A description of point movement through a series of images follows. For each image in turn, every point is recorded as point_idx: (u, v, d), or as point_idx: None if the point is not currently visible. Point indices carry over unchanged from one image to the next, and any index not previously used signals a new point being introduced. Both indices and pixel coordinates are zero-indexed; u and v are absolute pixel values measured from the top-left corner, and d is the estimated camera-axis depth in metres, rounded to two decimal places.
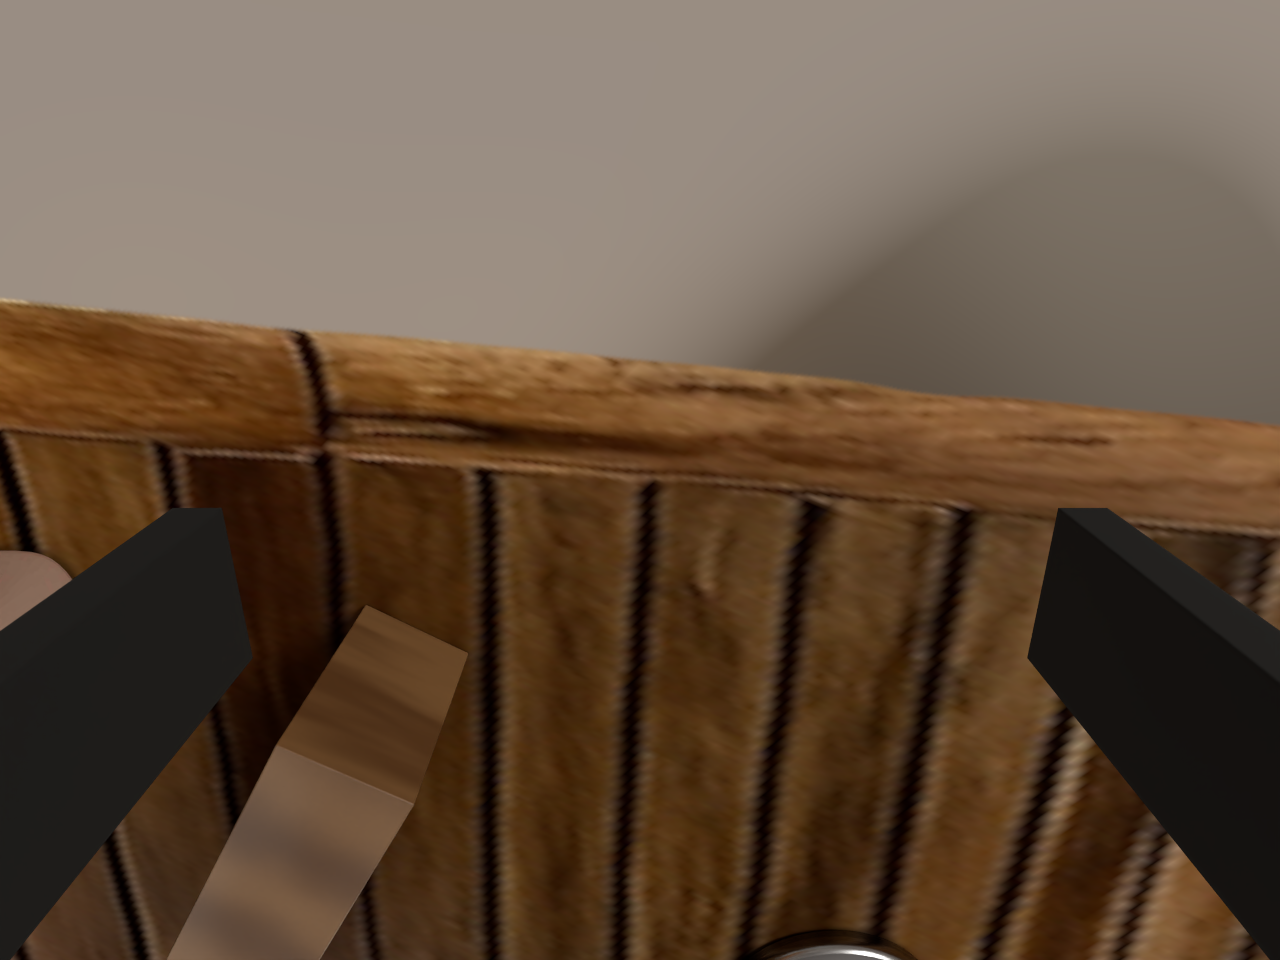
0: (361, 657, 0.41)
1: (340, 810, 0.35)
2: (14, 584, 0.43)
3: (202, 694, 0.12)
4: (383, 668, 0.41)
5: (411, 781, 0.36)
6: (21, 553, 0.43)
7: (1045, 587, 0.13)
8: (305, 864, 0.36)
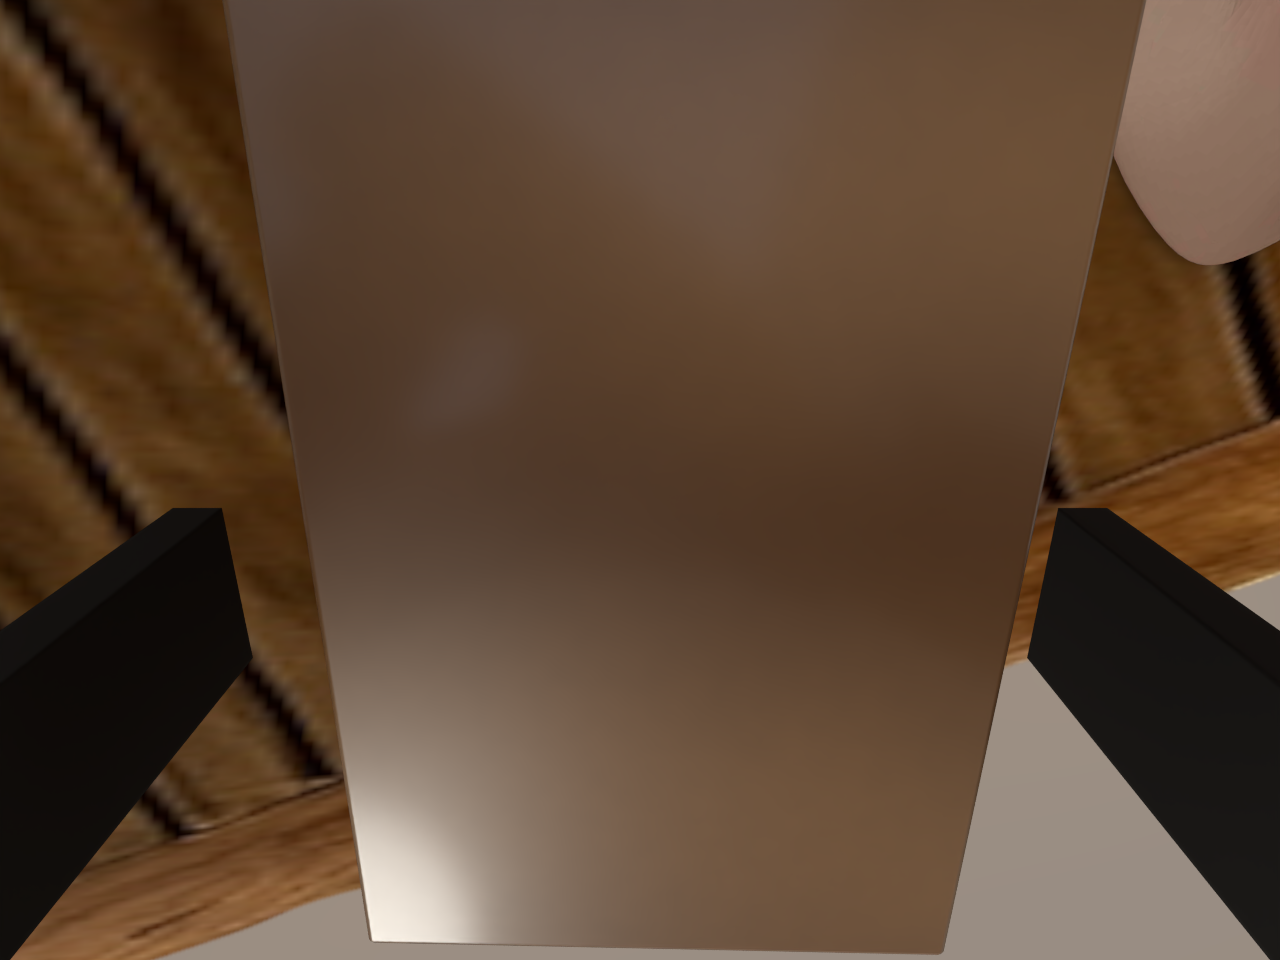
0: None
1: (607, 817, 0.08)
2: (1258, 217, 0.26)
3: (201, 694, 0.12)
4: None
5: None
6: (1246, 255, 0.28)
7: (1045, 586, 0.13)
8: (627, 475, 0.07)
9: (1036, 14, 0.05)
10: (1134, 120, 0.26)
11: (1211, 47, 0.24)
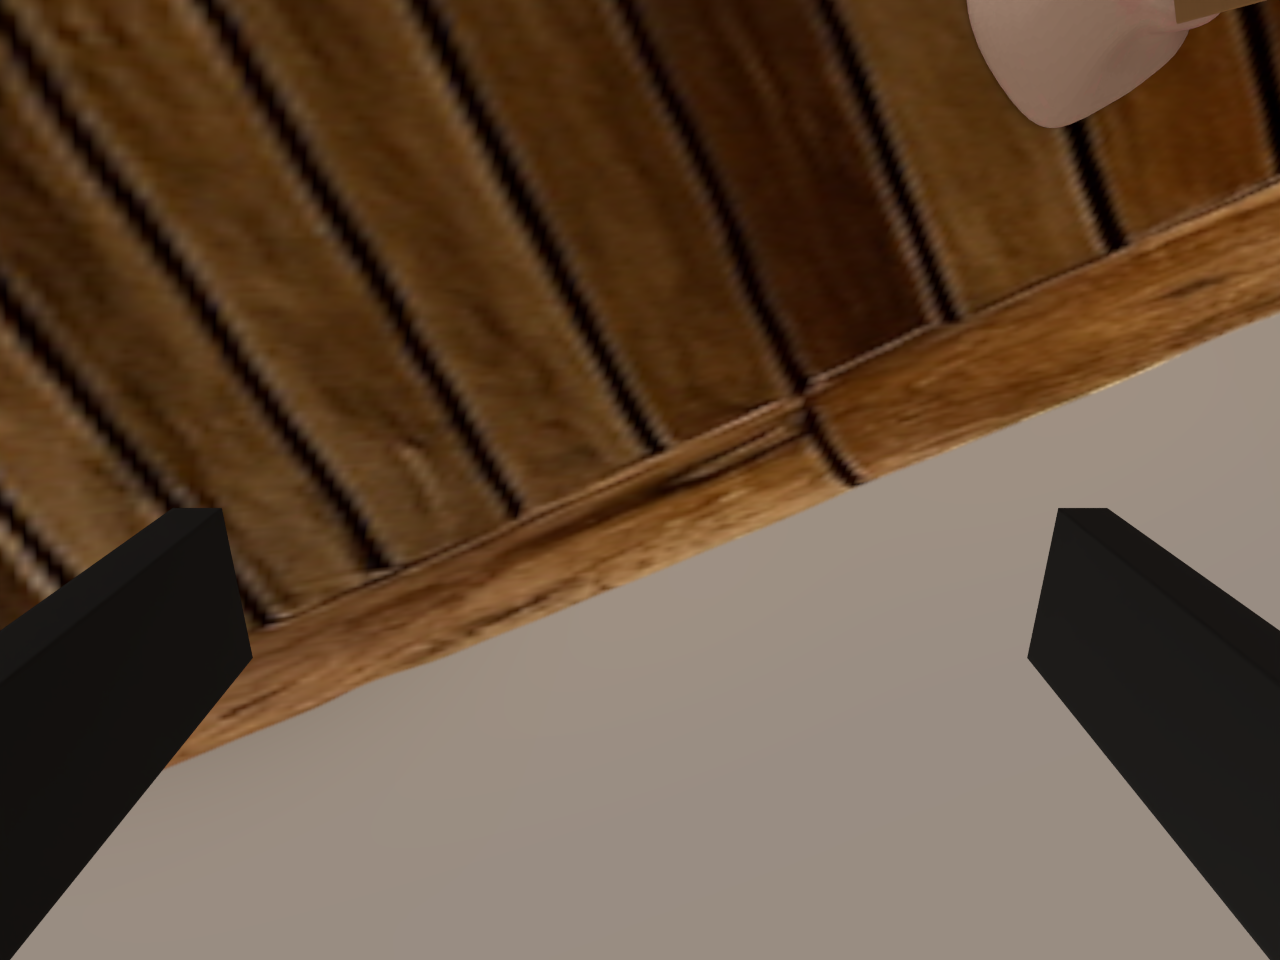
0: None
1: None
2: (1082, 86, 0.36)
3: (202, 694, 0.12)
4: None
5: None
6: (1079, 119, 0.37)
7: (1045, 587, 0.13)
8: None
9: None
10: (988, 14, 0.35)
11: None
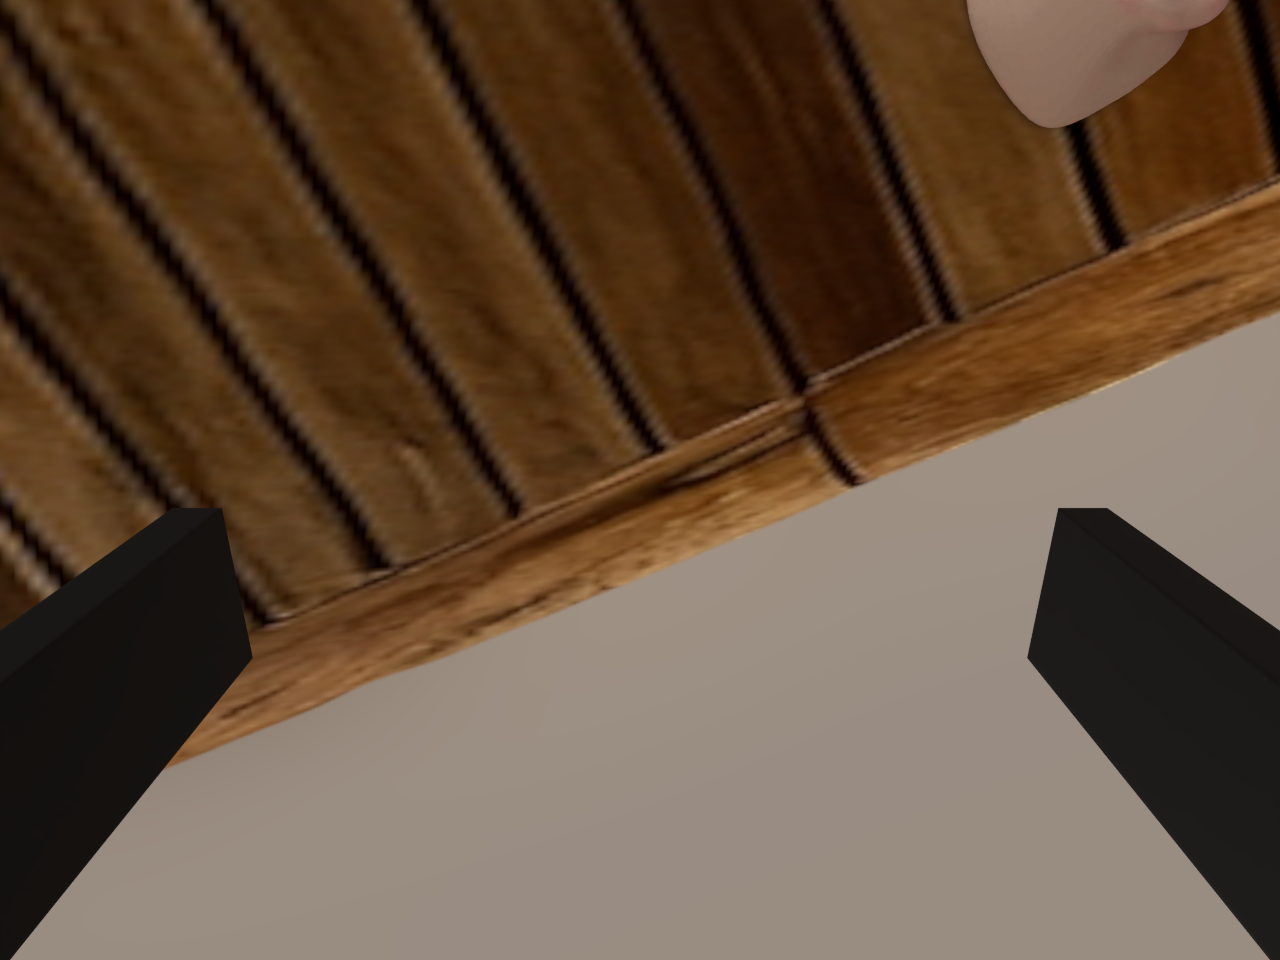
0: None
1: None
2: (1082, 86, 0.36)
3: (202, 694, 0.12)
4: None
5: None
6: (1079, 119, 0.37)
7: (1045, 587, 0.13)
8: None
9: None
10: (988, 14, 0.35)
11: None
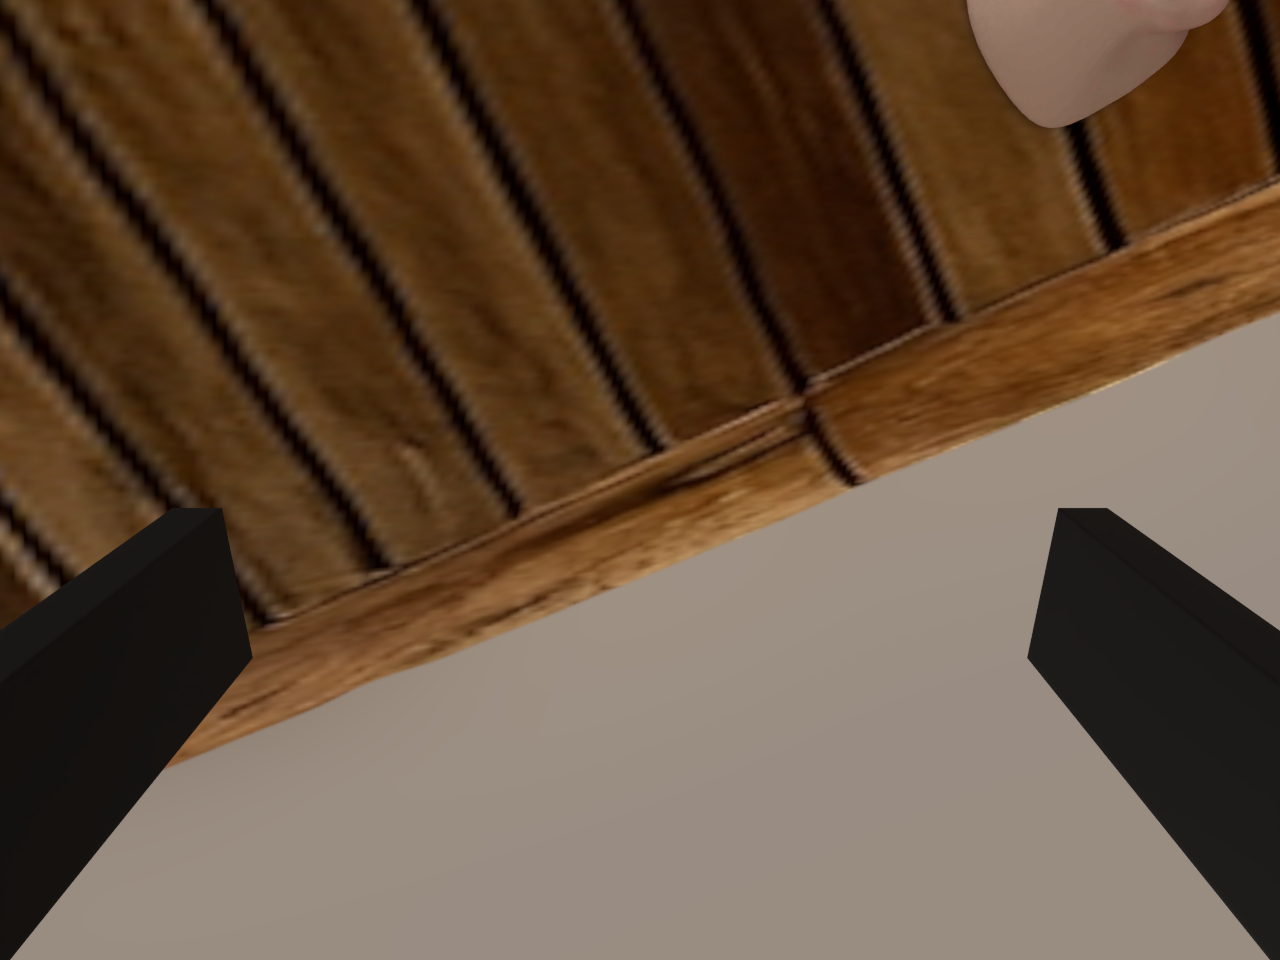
0: None
1: None
2: (1082, 86, 0.36)
3: (202, 694, 0.12)
4: None
5: None
6: (1079, 119, 0.37)
7: (1045, 587, 0.13)
8: None
9: None
10: (988, 14, 0.35)
11: None
